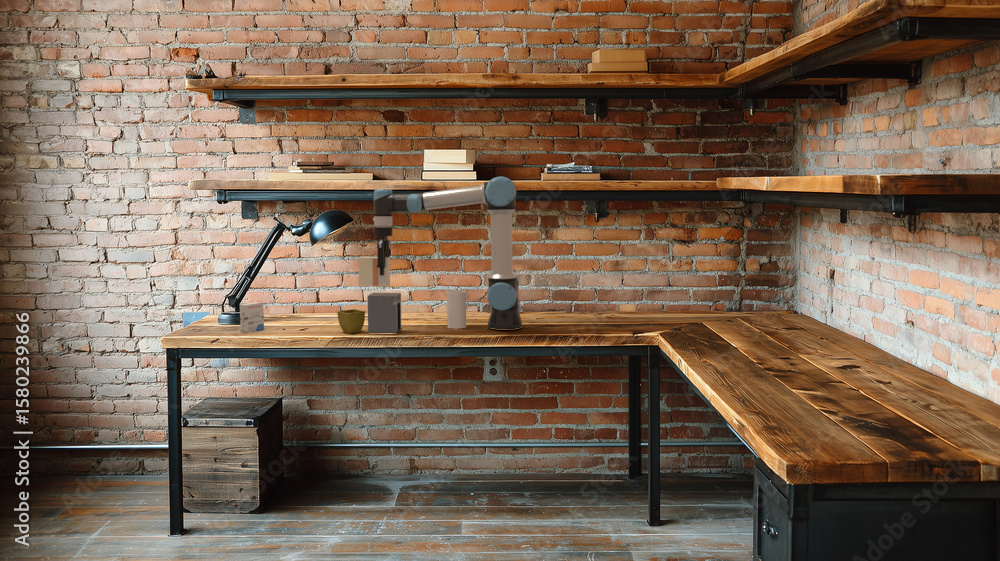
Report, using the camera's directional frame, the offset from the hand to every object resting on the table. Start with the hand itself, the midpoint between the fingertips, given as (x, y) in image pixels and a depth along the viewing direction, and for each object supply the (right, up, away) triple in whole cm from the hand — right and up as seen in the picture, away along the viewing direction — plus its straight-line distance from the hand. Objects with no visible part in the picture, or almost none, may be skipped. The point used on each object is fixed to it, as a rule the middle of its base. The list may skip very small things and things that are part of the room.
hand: (383, 282), depth 307 cm
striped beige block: (-4, -1, 0) cm, 4 cm away
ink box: (-57, -21, +6) cm, 61 cm away
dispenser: (0, -21, +2) cm, 21 cm away
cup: (+30, -20, +13) cm, 38 cm away
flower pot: (-14, -21, +2) cm, 26 cm away
